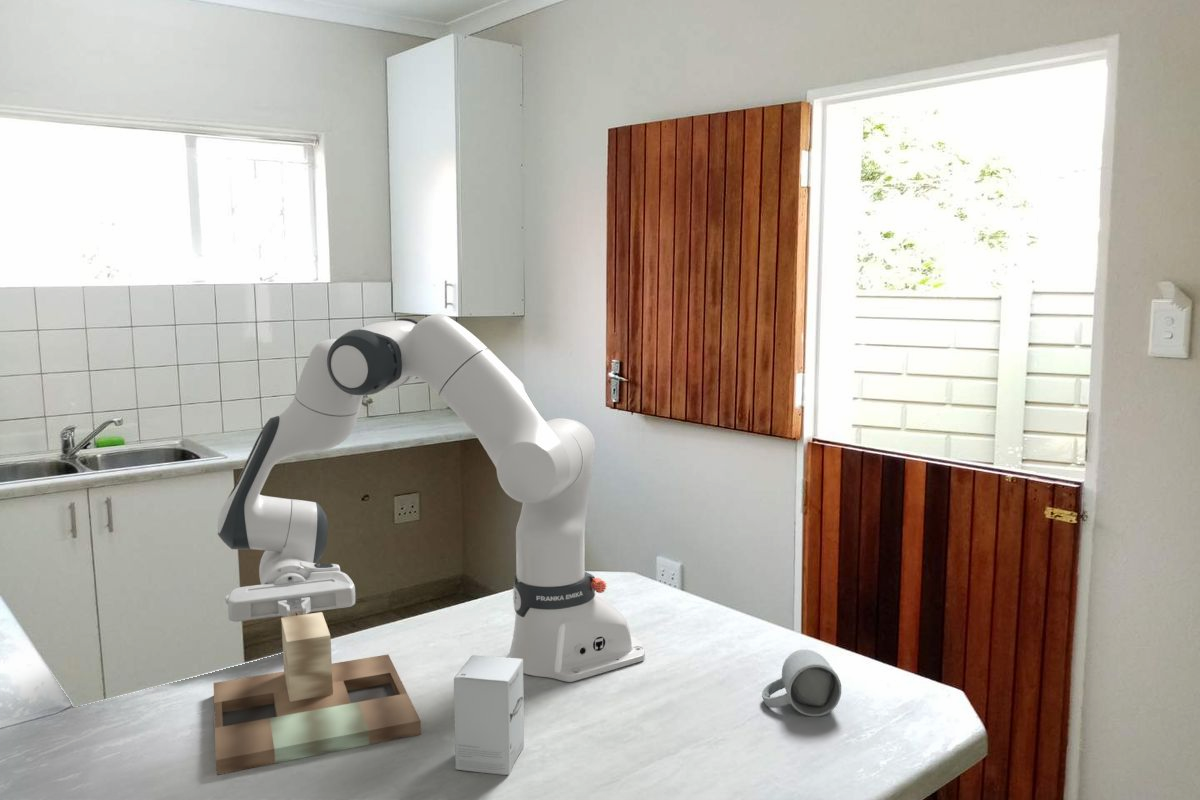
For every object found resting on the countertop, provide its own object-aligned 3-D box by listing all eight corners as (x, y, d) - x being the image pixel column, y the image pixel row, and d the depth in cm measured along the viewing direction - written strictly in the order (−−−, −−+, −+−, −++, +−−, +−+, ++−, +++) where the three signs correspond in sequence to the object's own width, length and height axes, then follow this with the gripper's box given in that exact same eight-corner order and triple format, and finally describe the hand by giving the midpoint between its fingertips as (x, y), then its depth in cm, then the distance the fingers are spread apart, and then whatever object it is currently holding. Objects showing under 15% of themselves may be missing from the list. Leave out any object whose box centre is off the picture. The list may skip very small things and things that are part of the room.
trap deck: (388, 666, 149) (388, 654, 149) (421, 734, 127) (420, 720, 127) (214, 695, 139) (213, 682, 138) (216, 774, 117) (215, 760, 117)
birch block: (324, 667, 144) (322, 612, 143) (333, 694, 135) (330, 635, 133) (284, 674, 141) (281, 617, 140) (289, 701, 132) (286, 641, 131)
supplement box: (509, 776, 116) (508, 681, 115) (453, 770, 118) (451, 676, 116) (526, 747, 123) (524, 657, 122) (473, 741, 125) (471, 653, 123)
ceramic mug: (827, 691, 140) (828, 642, 139) (841, 716, 132) (842, 665, 131) (757, 692, 140) (757, 644, 139) (767, 718, 132) (767, 667, 130)
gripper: (223, 576, 156) (225, 604, 144) (347, 562, 164) (359, 587, 152) (225, 612, 157) (227, 642, 145) (348, 596, 165) (361, 624, 153)
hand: (296, 614), depth 148 cm, fingers closed
